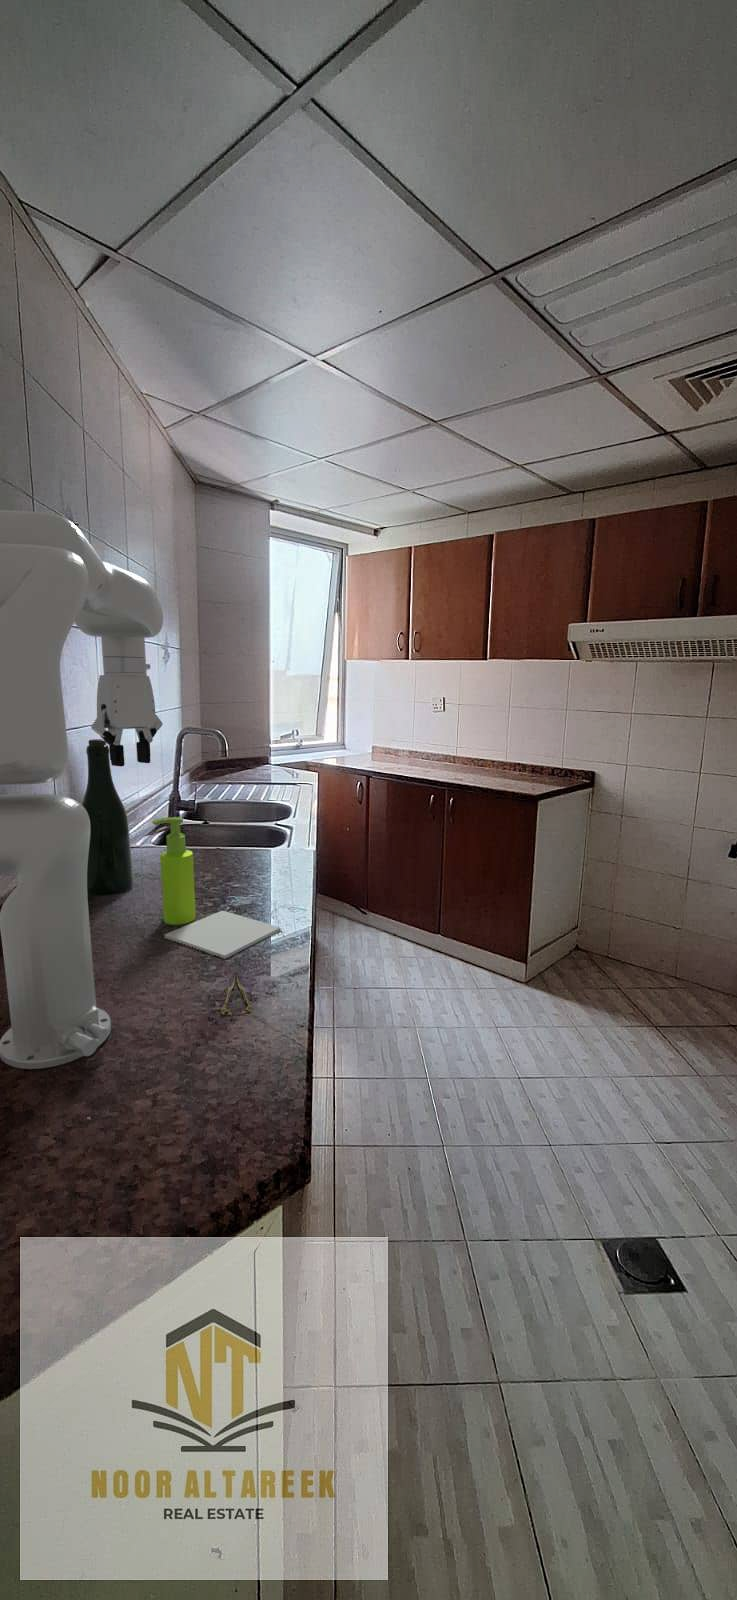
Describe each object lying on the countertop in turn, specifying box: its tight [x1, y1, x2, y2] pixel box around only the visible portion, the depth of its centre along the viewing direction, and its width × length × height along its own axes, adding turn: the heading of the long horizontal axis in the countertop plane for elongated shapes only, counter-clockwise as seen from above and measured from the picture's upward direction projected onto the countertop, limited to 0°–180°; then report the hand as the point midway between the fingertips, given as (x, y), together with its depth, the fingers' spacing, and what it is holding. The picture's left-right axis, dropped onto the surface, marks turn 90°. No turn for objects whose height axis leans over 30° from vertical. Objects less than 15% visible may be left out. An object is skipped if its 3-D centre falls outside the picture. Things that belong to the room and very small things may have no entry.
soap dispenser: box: [151, 816, 197, 926], centre depth 113 cm, size 6×7×20 cm
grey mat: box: [164, 910, 281, 960], centre depth 108 cm, size 15×14×1 cm
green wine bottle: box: [80, 738, 134, 897], centre depth 127 cm, size 10×10×33 cm
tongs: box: [220, 971, 253, 1016], centre depth 88 cm, size 4×13×2 cm, turn 18°
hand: (131, 763), depth 115 cm, fingers open, 5 cm apart
